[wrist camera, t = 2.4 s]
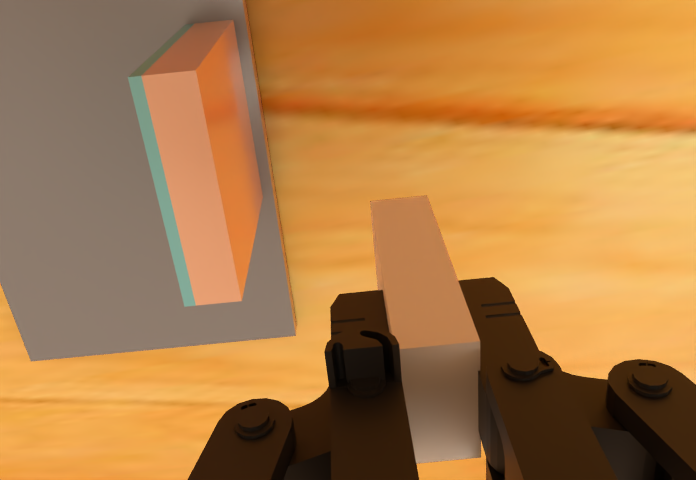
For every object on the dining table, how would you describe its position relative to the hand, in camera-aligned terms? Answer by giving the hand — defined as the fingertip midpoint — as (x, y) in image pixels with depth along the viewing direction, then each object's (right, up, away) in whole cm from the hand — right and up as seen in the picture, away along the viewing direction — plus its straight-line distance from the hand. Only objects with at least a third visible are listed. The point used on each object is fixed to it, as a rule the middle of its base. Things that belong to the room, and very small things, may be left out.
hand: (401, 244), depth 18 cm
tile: (-7, +6, +11) cm, 14 cm away
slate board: (-12, +5, +12) cm, 18 cm away
